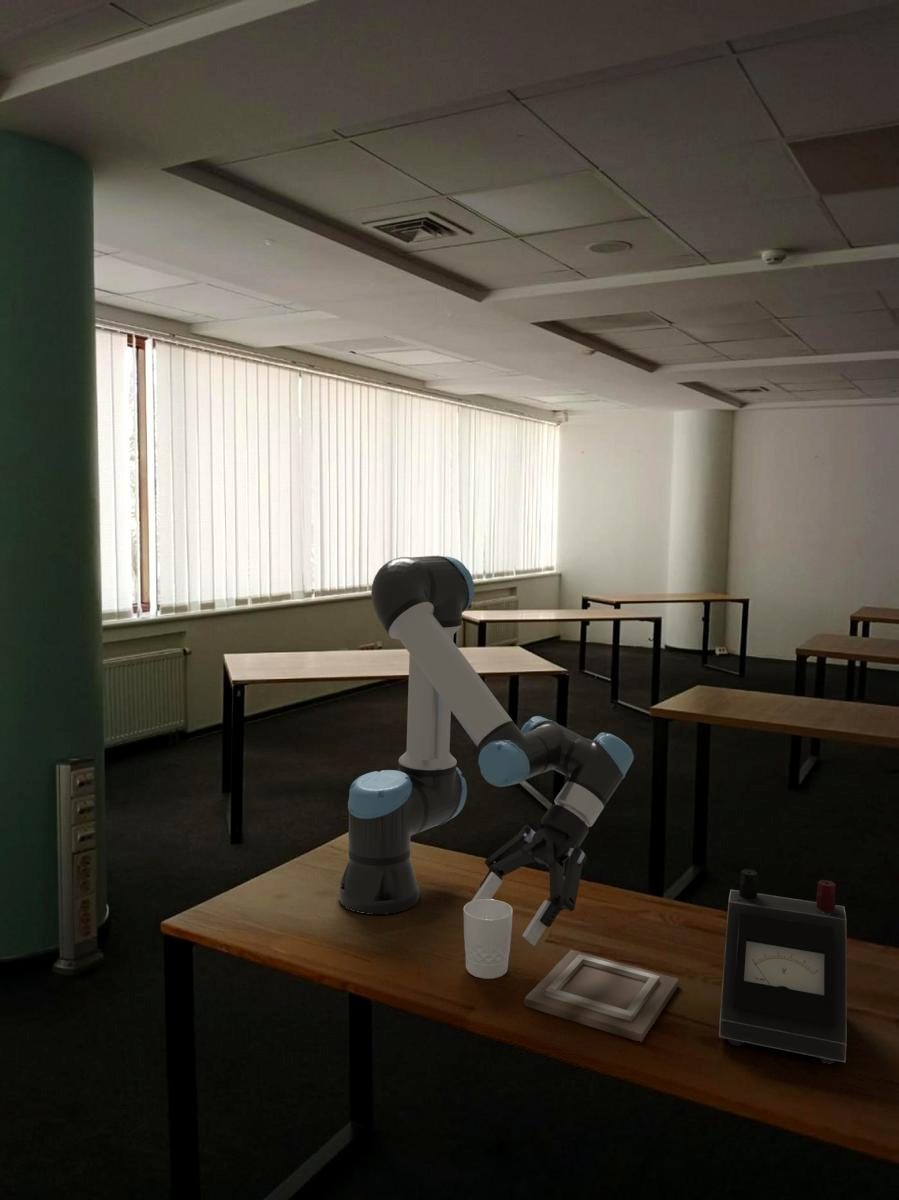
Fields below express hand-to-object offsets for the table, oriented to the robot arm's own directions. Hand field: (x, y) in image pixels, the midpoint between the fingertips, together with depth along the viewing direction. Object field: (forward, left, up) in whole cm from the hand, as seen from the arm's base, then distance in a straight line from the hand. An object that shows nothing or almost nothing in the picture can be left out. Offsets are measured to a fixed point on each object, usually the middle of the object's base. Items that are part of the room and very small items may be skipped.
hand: (500, 924), depth 146 cm
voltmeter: (+42, +6, -8) cm, 43 cm away
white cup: (-2, -1, -8) cm, 8 cm away
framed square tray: (+17, +1, -7) cm, 19 cm away
